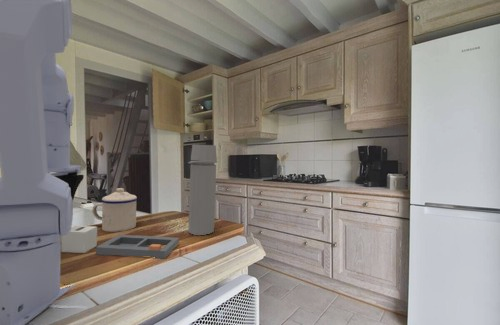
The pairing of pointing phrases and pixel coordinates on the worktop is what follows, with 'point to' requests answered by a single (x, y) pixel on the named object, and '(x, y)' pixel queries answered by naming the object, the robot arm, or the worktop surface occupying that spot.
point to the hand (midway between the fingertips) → (52, 210)
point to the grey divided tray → (138, 246)
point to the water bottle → (202, 189)
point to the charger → (79, 239)
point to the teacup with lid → (117, 211)
